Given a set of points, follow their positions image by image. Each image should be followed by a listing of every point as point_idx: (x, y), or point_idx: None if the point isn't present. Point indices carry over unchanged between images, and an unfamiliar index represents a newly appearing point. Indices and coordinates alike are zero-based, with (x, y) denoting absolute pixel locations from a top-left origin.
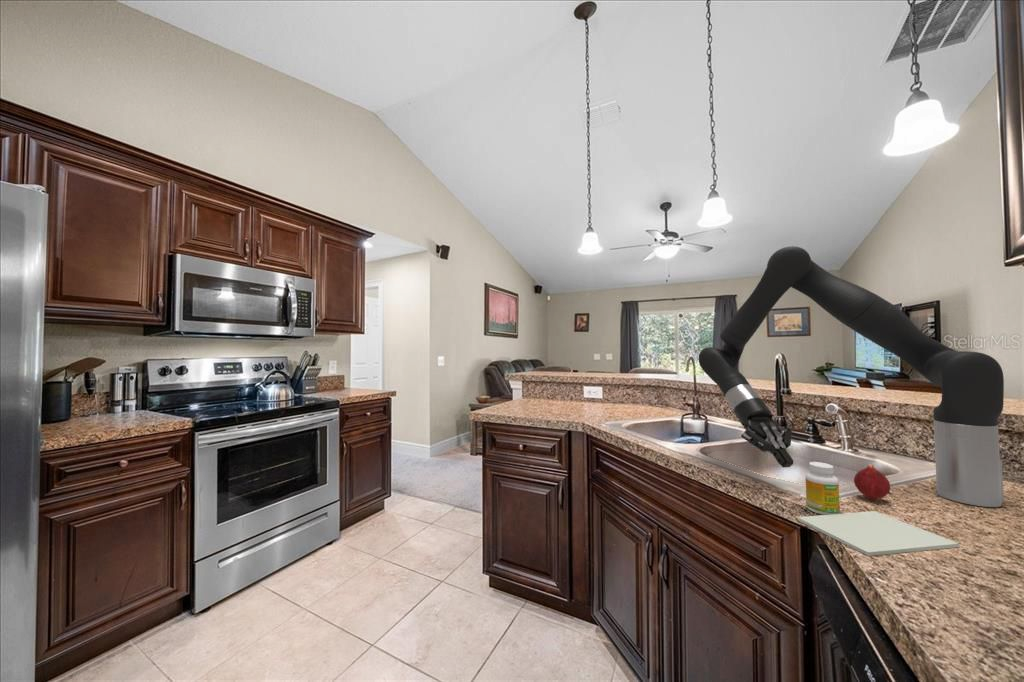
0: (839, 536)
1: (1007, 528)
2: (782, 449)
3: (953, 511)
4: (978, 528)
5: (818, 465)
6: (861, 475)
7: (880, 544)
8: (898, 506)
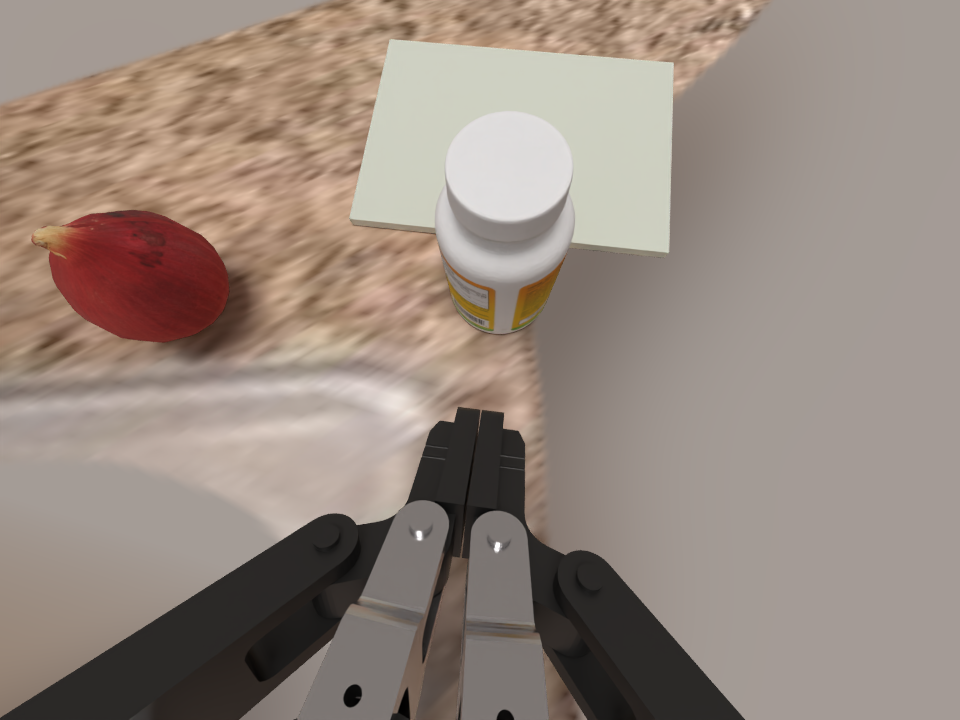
0: (662, 131)
1: (122, 76)
2: (459, 498)
3: (87, 175)
4: (194, 93)
5: (543, 156)
6: (162, 272)
7: (595, 79)
8: None
